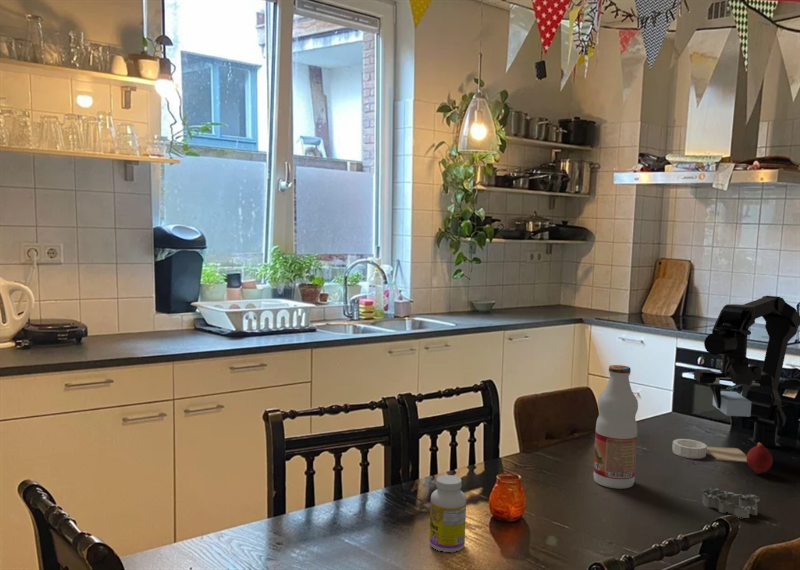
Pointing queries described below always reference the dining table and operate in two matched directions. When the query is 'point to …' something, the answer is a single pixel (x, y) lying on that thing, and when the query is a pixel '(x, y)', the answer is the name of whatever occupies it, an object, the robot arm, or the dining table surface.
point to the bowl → (689, 448)
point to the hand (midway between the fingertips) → (730, 408)
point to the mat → (727, 454)
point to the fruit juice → (616, 432)
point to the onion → (759, 459)
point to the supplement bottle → (447, 515)
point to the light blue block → (734, 404)
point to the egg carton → (730, 502)
